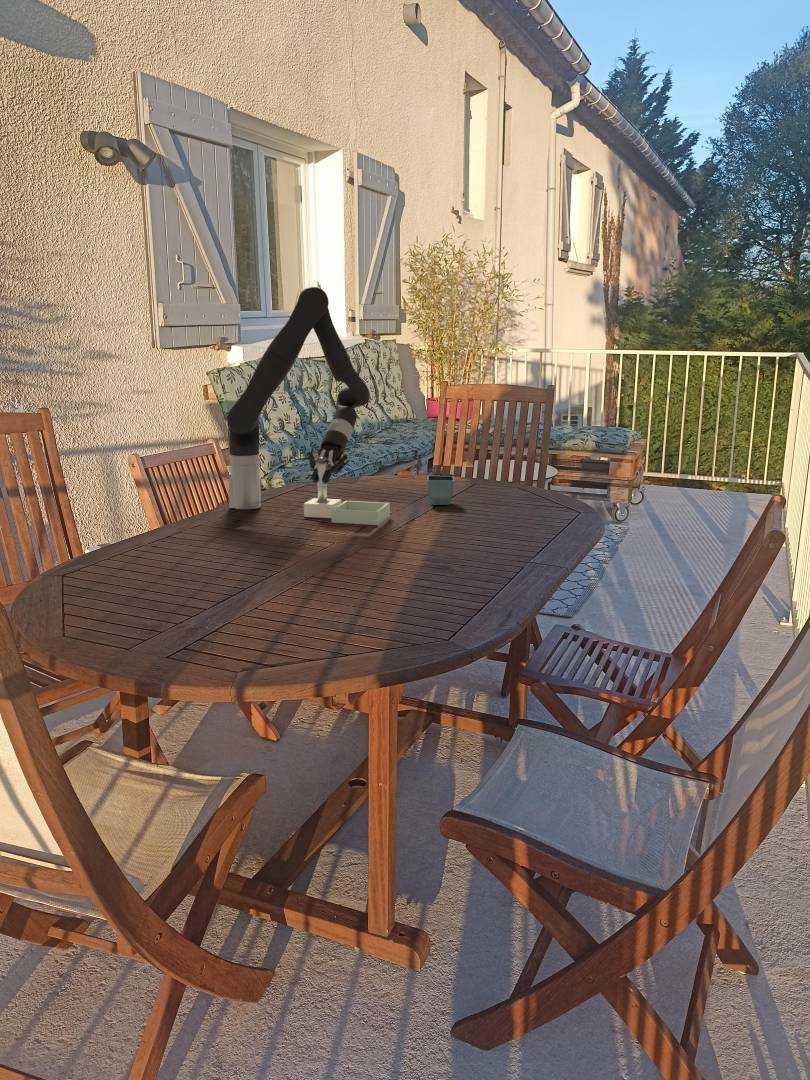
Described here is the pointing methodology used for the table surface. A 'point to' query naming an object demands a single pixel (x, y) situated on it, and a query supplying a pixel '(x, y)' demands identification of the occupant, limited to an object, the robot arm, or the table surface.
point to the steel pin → (321, 486)
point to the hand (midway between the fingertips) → (319, 481)
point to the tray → (361, 513)
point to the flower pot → (440, 489)
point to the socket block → (320, 508)
